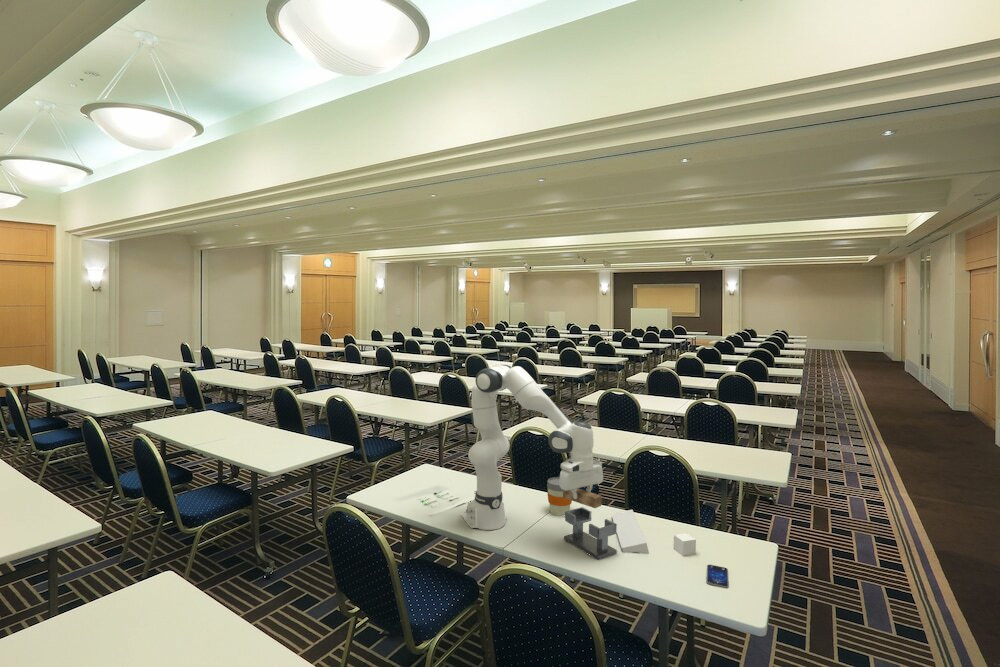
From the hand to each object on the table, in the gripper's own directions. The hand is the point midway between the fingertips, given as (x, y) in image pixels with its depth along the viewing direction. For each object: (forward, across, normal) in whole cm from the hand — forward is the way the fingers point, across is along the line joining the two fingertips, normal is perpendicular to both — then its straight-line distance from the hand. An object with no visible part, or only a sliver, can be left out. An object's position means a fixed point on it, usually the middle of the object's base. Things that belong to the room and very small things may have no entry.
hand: (581, 497), depth 206 cm
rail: (+2, 0, 0) cm, 2 cm away
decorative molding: (+23, -28, -1) cm, 36 cm away
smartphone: (+23, -30, +41) cm, 55 cm away
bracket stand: (+22, -5, -1) cm, 22 cm away
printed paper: (+22, +28, -79) cm, 87 cm away
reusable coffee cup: (+22, -16, -35) cm, 44 cm away
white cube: (+22, -35, +22) cm, 47 cm away
